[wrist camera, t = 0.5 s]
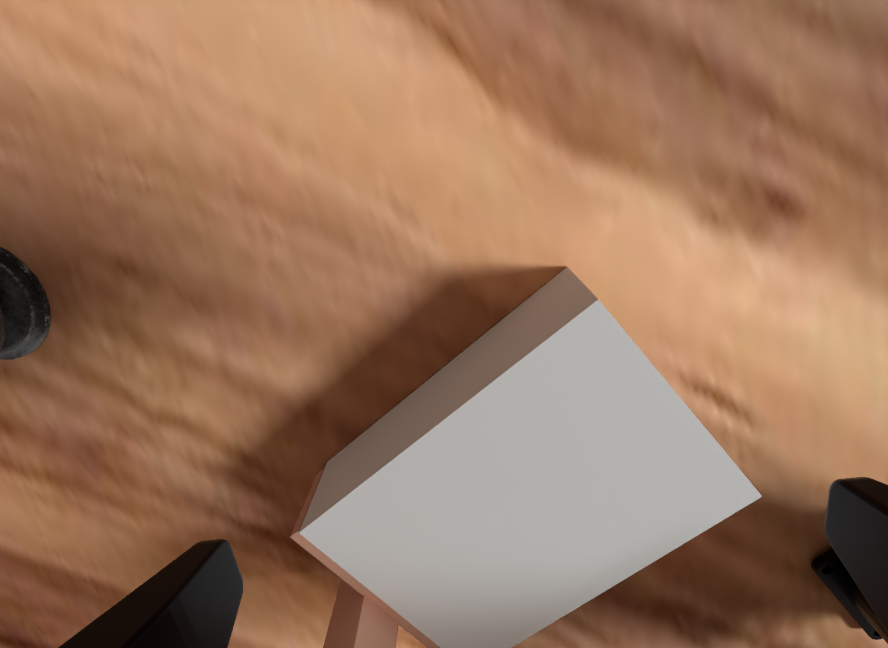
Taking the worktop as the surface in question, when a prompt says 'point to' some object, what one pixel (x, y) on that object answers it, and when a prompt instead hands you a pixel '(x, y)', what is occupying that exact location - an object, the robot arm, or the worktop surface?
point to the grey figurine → (21, 308)
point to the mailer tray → (356, 603)
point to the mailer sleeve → (523, 478)
